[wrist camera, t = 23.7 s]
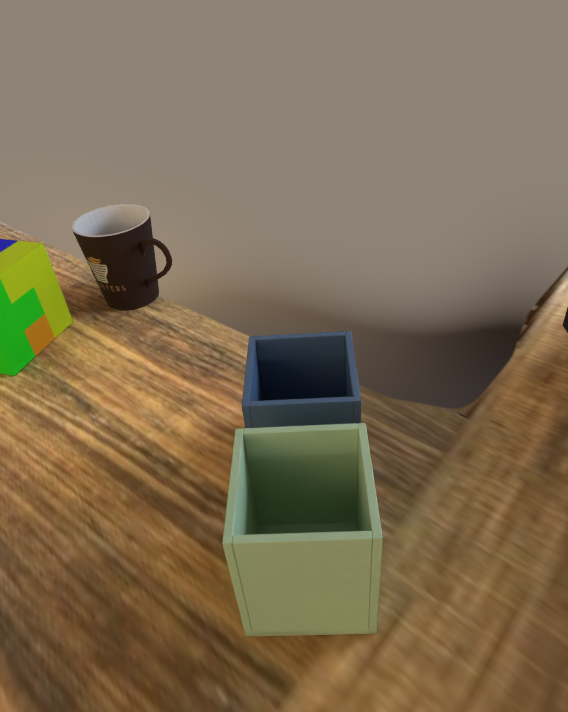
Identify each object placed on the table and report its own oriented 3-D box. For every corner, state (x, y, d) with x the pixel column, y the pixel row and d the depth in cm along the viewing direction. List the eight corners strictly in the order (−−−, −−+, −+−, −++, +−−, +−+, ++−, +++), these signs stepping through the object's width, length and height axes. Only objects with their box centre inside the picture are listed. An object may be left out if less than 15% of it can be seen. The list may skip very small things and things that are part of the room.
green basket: (363, 520, 39) (365, 422, 33) (376, 634, 33) (383, 538, 27) (253, 524, 40) (235, 428, 33) (245, 636, 33) (222, 543, 27)
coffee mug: (88, 293, 68) (62, 218, 62) (152, 271, 71) (134, 198, 65) (118, 336, 60) (92, 255, 54) (189, 309, 63) (172, 230, 57)
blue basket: (350, 413, 48) (351, 330, 42) (359, 487, 41) (361, 400, 36) (260, 417, 48) (249, 336, 43) (255, 491, 42) (241, 406, 36)
